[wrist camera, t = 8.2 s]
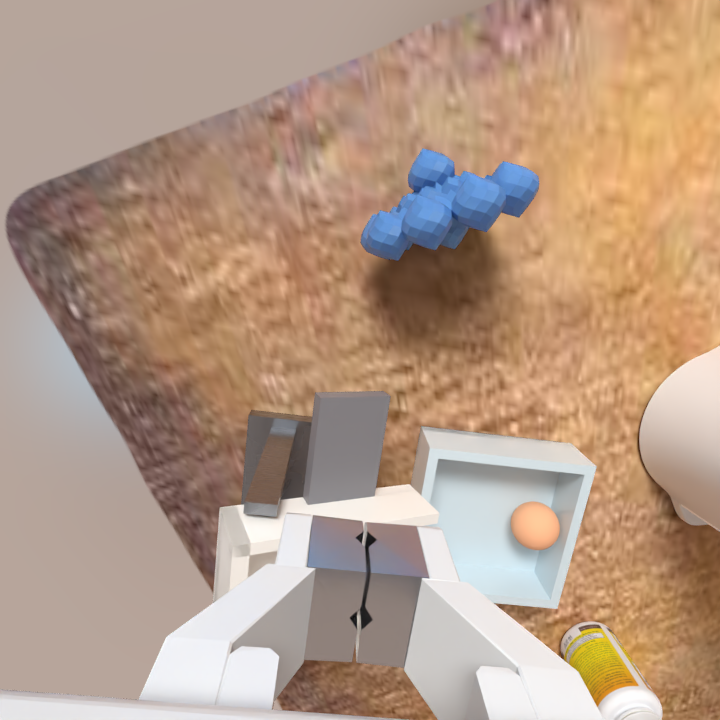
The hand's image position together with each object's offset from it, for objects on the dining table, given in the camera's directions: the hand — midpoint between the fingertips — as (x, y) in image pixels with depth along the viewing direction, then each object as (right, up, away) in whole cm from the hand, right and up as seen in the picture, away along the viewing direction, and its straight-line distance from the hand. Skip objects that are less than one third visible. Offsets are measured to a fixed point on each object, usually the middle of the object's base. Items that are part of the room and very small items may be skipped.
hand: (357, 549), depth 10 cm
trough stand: (-7, -7, +34) cm, 35 cm away
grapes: (+5, +16, +28) cm, 33 cm away
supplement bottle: (+23, -24, +39) cm, 52 cm away
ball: (+15, -11, +33) cm, 37 cm away
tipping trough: (-3, -6, +24) cm, 25 cm away
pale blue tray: (+11, -9, +35) cm, 38 cm away
